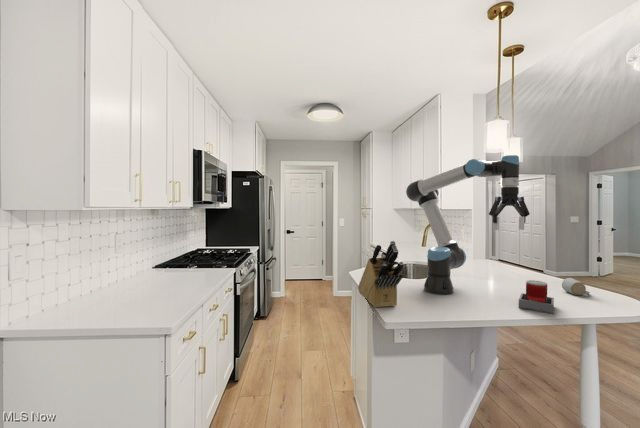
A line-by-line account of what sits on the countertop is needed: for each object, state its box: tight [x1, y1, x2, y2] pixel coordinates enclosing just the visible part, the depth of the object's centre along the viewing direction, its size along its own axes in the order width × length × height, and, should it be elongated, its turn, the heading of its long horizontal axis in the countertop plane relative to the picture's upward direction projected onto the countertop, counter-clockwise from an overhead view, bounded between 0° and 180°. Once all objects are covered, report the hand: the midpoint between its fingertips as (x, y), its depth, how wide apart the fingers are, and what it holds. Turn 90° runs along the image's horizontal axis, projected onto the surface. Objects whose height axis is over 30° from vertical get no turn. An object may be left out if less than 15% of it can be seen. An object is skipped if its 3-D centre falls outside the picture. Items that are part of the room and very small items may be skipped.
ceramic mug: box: [561, 277, 590, 296], centre depth 162 cm, size 11×8×8 cm
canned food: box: [525, 280, 548, 303], centre depth 141 cm, size 8×8×11 cm
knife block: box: [357, 240, 404, 308], centre depth 148 cm, size 11×35×31 cm, turn 9°
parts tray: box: [518, 292, 555, 315], centre depth 141 cm, size 13×13×4 cm
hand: (509, 229), depth 153 cm, fingers open, 13 cm apart
